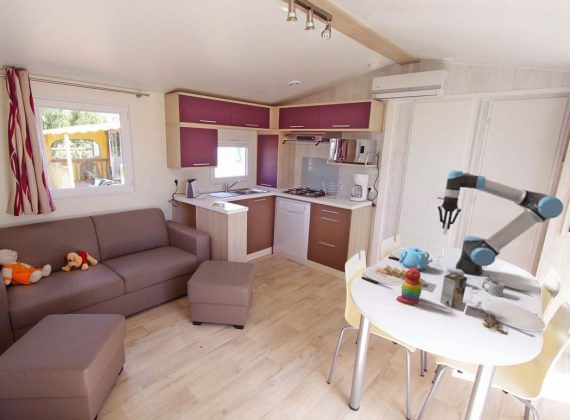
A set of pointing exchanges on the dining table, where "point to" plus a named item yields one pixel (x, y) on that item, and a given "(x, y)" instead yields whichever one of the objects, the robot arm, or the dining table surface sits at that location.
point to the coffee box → (453, 290)
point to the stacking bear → (411, 288)
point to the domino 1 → (383, 271)
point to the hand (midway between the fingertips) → (444, 233)
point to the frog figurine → (494, 325)
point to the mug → (494, 287)
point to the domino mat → (428, 287)
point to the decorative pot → (414, 258)
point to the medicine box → (454, 271)
